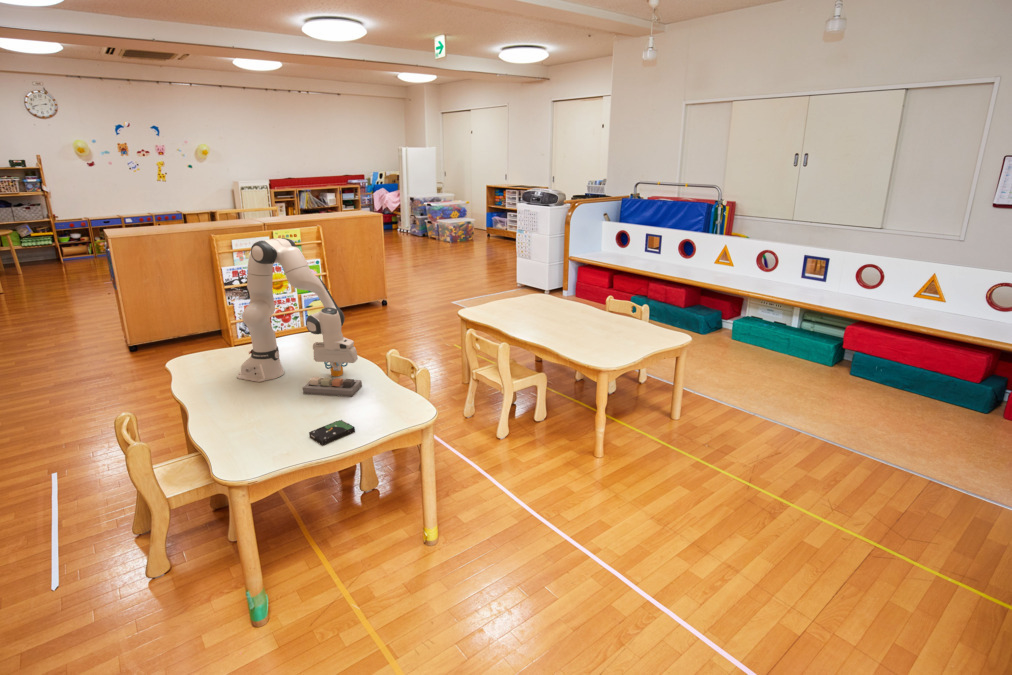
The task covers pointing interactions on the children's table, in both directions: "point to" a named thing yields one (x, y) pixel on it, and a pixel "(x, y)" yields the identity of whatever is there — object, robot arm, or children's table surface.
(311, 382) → the key white
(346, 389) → the keyboard
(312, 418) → the children's table surface
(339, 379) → the key terracotta
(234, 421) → the children's table surface
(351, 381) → the key charcoal
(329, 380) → the key sage
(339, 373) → the orange and blue toy
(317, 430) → the disk drive
